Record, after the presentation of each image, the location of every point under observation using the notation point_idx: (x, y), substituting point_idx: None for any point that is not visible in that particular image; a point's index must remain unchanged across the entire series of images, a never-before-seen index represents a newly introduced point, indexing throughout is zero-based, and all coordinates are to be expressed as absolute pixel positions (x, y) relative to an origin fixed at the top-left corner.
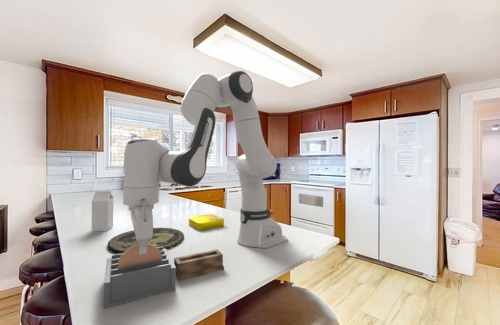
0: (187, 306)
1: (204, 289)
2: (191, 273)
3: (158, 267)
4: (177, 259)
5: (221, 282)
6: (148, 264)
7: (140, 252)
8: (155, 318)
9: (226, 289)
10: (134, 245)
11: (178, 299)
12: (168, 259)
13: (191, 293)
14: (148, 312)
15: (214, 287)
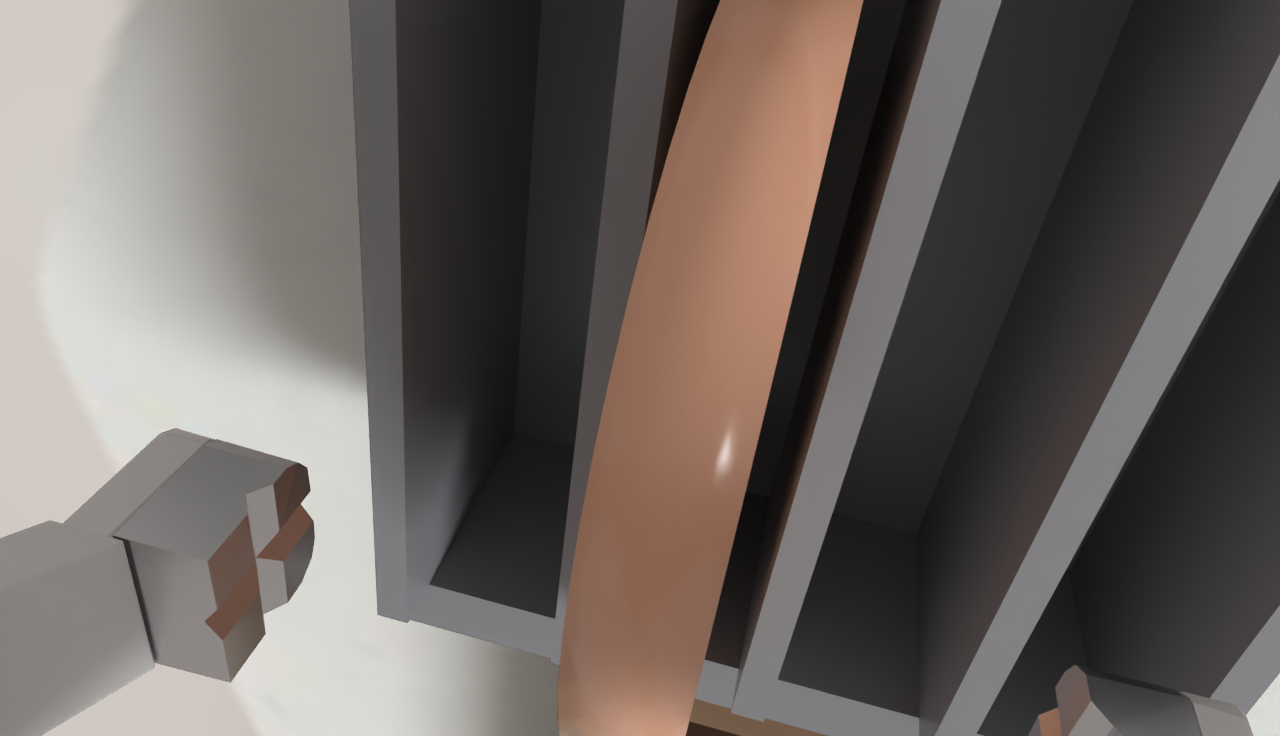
0: (187, 386)
1: (364, 582)
2: None
3: (373, 482)
4: (766, 726)
5: (399, 702)
6: (577, 431)
7: (154, 464)
8: (114, 126)
9: (289, 667)
10: (677, 533)
11: (314, 382)
12: (553, 658)
13: (355, 492)
14: (223, 104)
15: (355, 638)
